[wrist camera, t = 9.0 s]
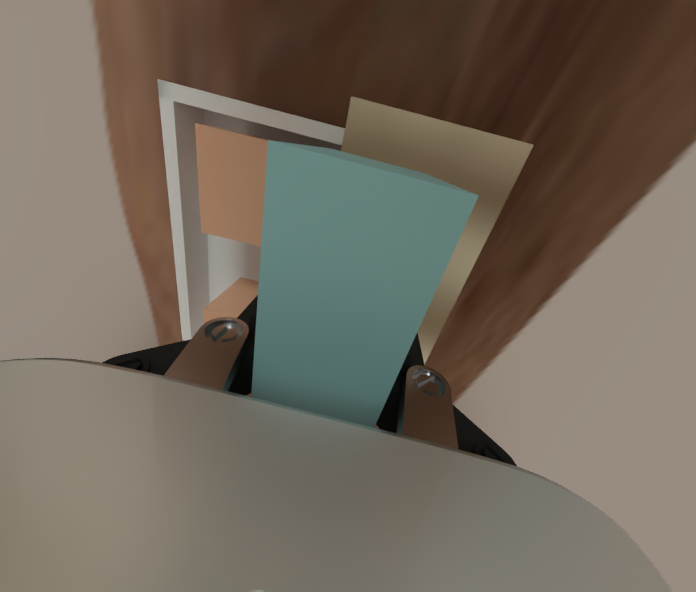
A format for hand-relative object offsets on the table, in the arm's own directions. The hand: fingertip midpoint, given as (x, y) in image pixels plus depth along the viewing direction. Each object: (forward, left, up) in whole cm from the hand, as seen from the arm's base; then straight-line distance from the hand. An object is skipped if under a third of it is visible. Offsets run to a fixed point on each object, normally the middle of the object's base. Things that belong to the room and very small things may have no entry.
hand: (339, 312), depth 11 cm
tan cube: (-4, -3, -3) cm, 5 cm away
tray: (0, -5, -5) cm, 7 cm away
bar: (0, 0, -1) cm, 1 cm away
